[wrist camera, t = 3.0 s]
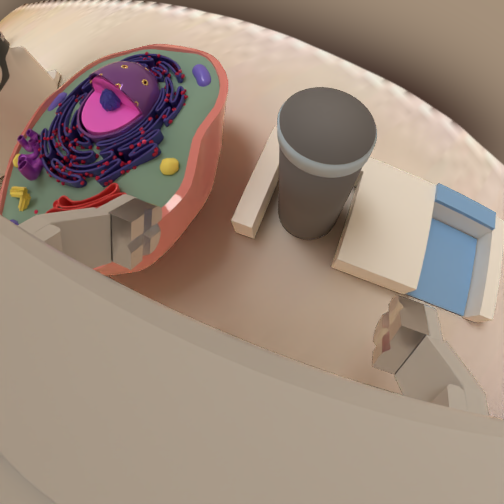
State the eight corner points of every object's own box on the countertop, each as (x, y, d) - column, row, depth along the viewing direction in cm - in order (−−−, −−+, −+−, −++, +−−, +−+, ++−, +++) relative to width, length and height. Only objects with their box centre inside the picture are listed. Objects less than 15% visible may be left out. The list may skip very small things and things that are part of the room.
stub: (267, 228, 24) (261, 144, 13) (289, 176, 25) (295, 76, 14) (327, 249, 23) (367, 179, 12) (344, 195, 24) (384, 104, 13)
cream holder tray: (235, 232, 24) (230, 218, 21) (274, 142, 26) (274, 122, 23) (475, 322, 20) (495, 319, 18) (490, 230, 22) (508, 219, 19)
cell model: (26, 232, 26) (-54, 188, 15) (150, 84, 29) (113, 4, 18) (134, 350, 22) (35, 352, 11) (286, 150, 25) (289, 44, 14)
